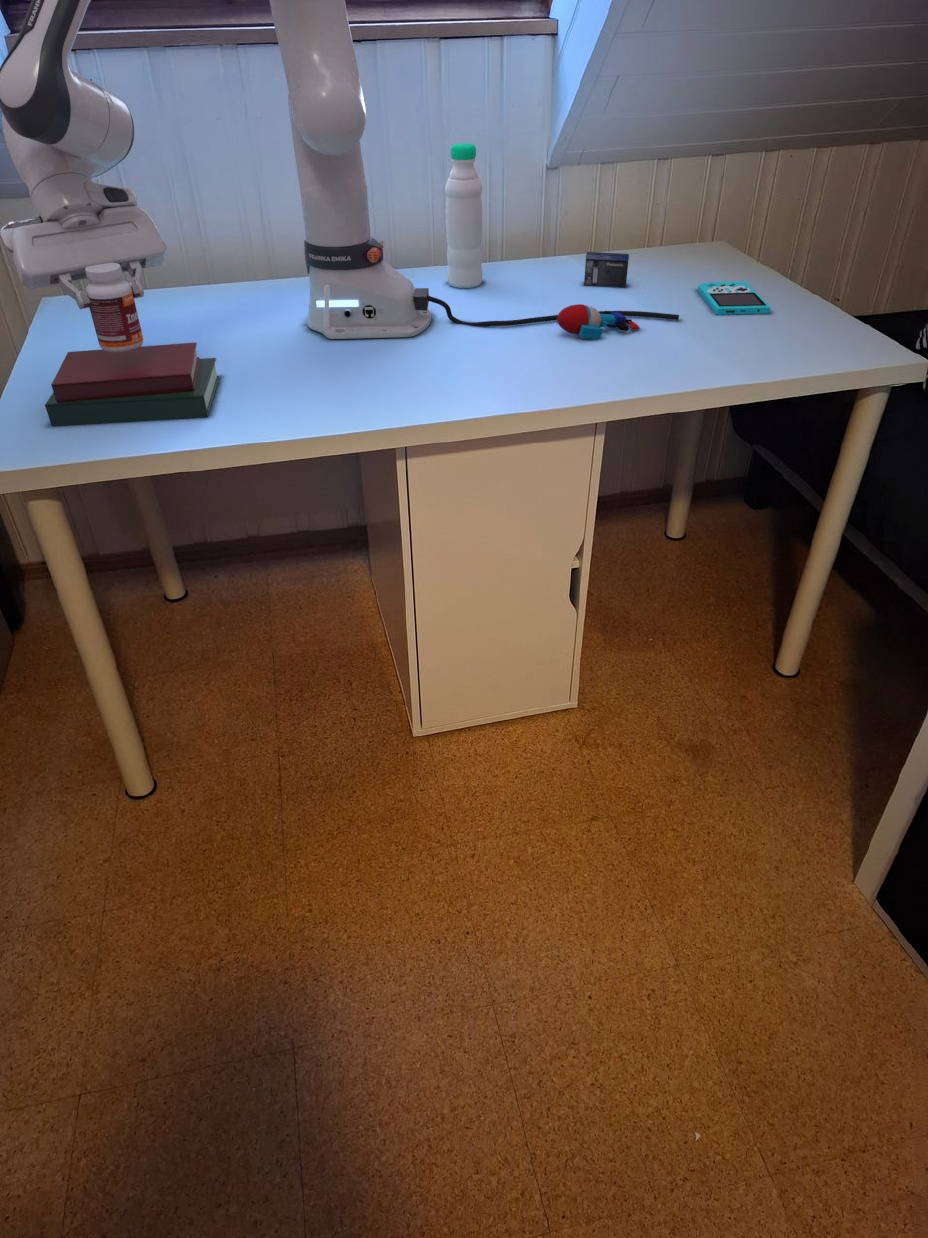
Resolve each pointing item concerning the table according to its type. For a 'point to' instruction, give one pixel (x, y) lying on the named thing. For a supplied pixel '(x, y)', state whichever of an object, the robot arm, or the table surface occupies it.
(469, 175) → the water bottle
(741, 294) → the handheld game console
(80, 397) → the upper book
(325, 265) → the robot arm
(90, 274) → the pill bottle
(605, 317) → the toy figure
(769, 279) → the table surface
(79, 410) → the lower book
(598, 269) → the mini dv tape
